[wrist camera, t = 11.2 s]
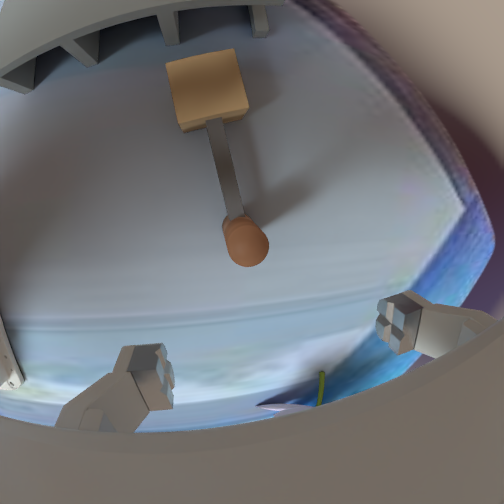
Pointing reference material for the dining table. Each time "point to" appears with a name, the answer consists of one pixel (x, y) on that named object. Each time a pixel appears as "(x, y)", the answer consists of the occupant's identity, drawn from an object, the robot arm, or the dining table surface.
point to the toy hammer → (218, 136)
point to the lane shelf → (89, 28)
